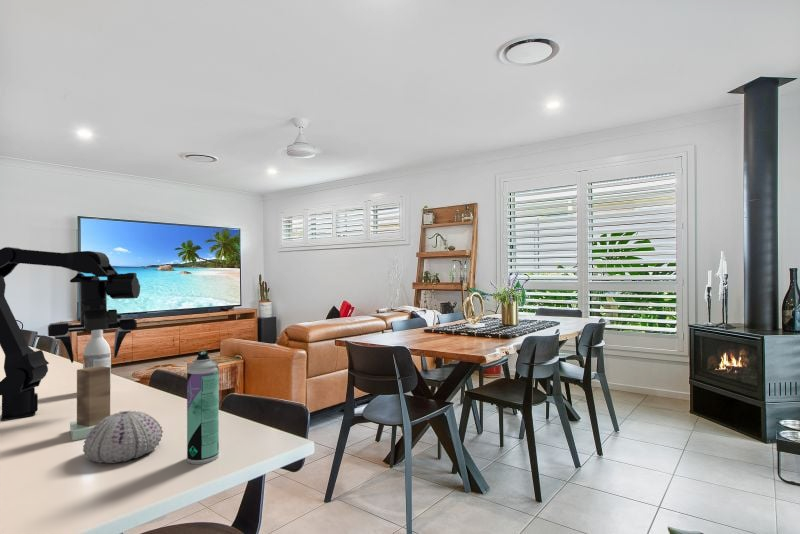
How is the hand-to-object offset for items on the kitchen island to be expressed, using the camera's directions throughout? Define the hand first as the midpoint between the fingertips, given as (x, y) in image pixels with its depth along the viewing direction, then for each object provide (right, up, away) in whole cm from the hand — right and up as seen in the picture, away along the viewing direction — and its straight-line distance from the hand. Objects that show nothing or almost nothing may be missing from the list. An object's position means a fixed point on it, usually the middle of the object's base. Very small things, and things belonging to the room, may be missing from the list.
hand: (94, 360), depth 116 cm
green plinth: (+11, -13, -16) cm, 23 cm away
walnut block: (+11, -11, -16) cm, 22 cm away
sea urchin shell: (+25, -13, -29) cm, 40 cm away
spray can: (+42, -12, -31) cm, 54 cm away
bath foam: (-12, -14, +19) cm, 27 cm away
